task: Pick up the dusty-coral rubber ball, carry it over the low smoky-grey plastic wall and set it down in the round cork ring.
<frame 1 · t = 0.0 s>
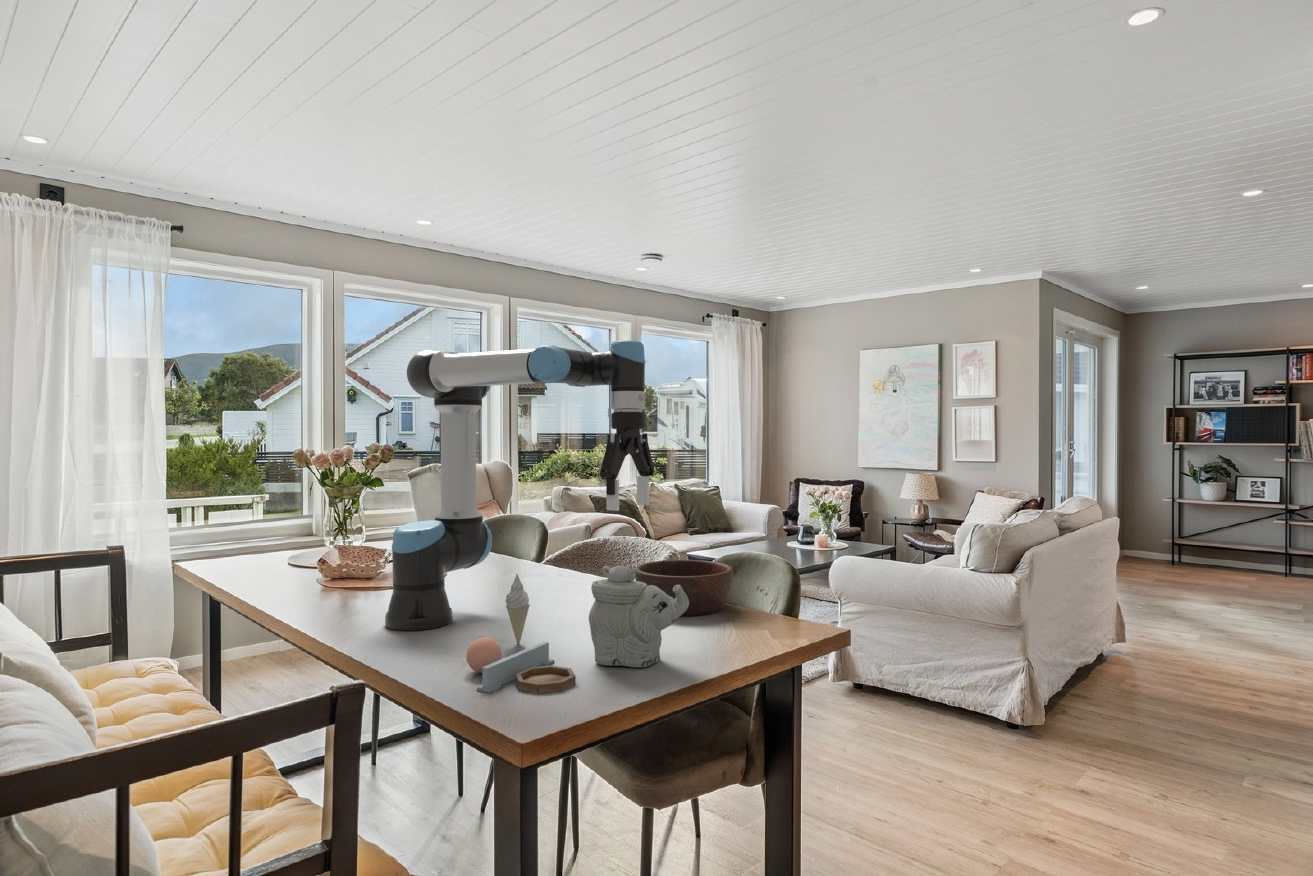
hand: (628, 507, 168), 28 cm above the table, fingers open, 13 cm apart
cork ring: (545, 683, 135), on the table
ice cream cone: (518, 645, 160), on the table
ball: (484, 672, 142), on the table
wooden bowl: (683, 608, 193), on the table
teapot: (638, 663, 147), on the table
low wall: (517, 675, 139), on the table
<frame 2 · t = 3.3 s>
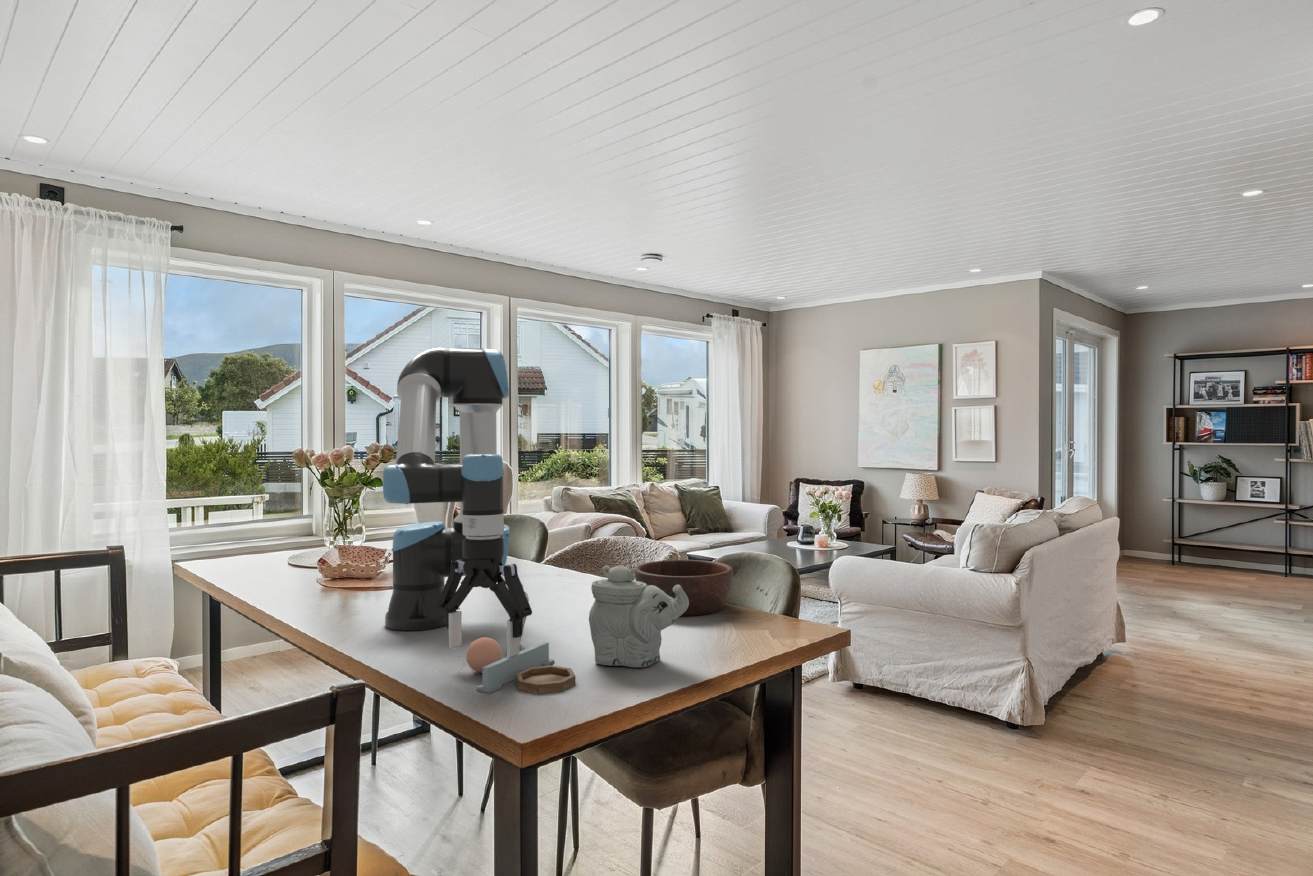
hand: (483, 651, 141), 4 cm above the table, fingers open, 13 cm apart
nothing on the table moved.
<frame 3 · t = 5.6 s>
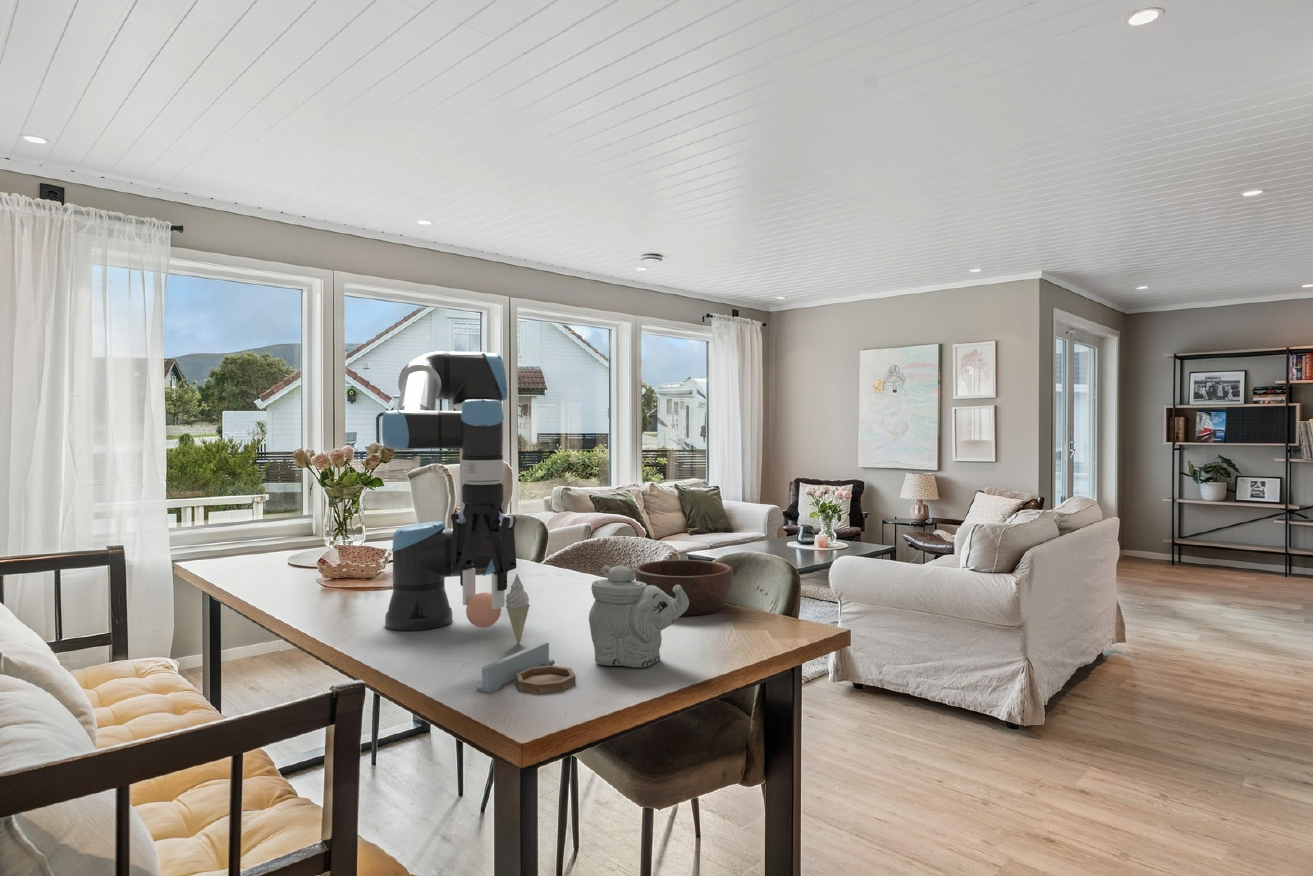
hand: (483, 605, 142), 12 cm above the table, fingers closed on ball, 6 cm apart
ball: (483, 626, 142), point 8 cm above the table, touching gripper
everything else where it was.
when the fingers open (3 cm above the table, at t = 9.5 s): ball stays where it is, resting on cork ring.
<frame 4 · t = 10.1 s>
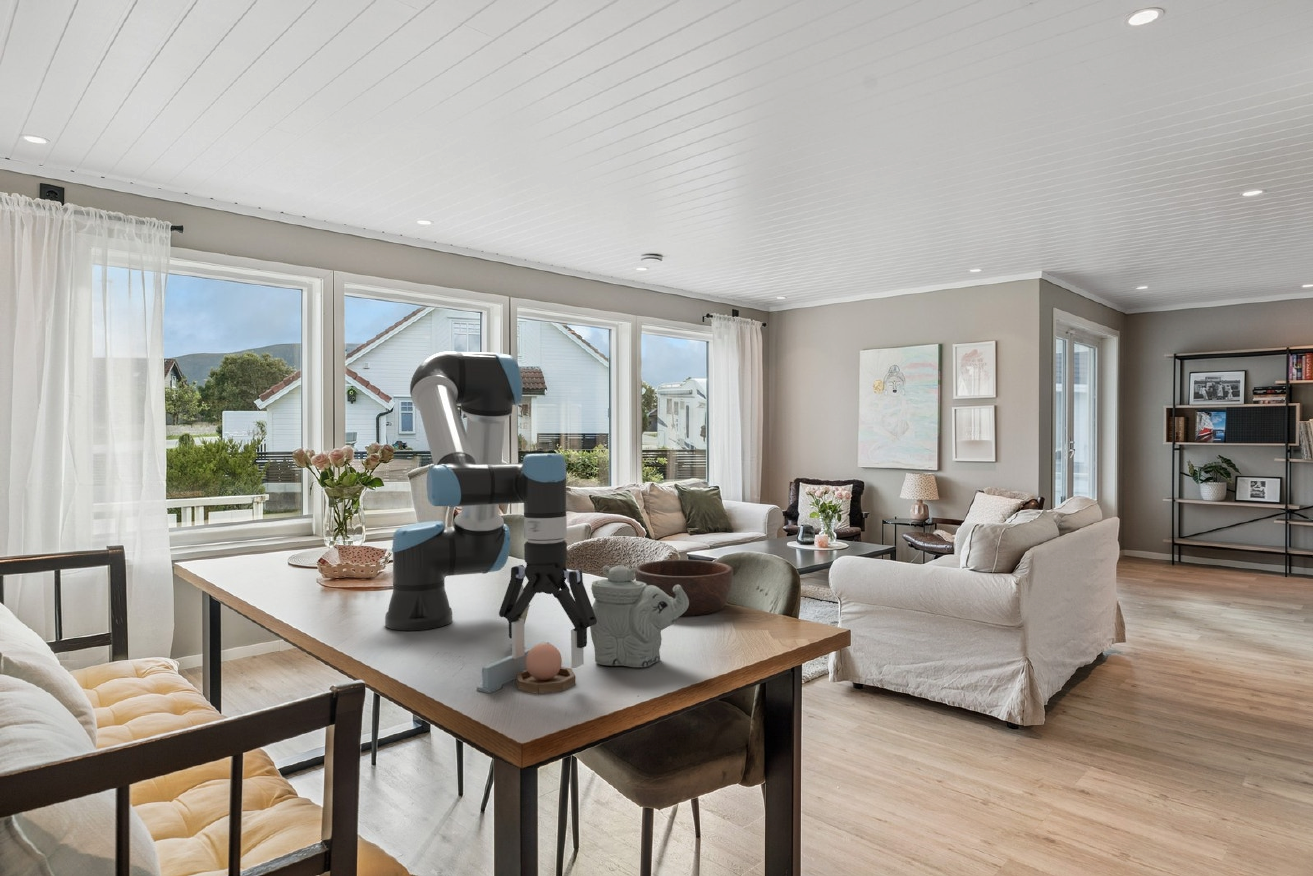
hand: (547, 661, 135), 4 cm above the table, fingers open, 12 cm apart
ball: (545, 680, 135), point 1 cm above the table, tilted 18°, touching cork ring
everything else where it was.
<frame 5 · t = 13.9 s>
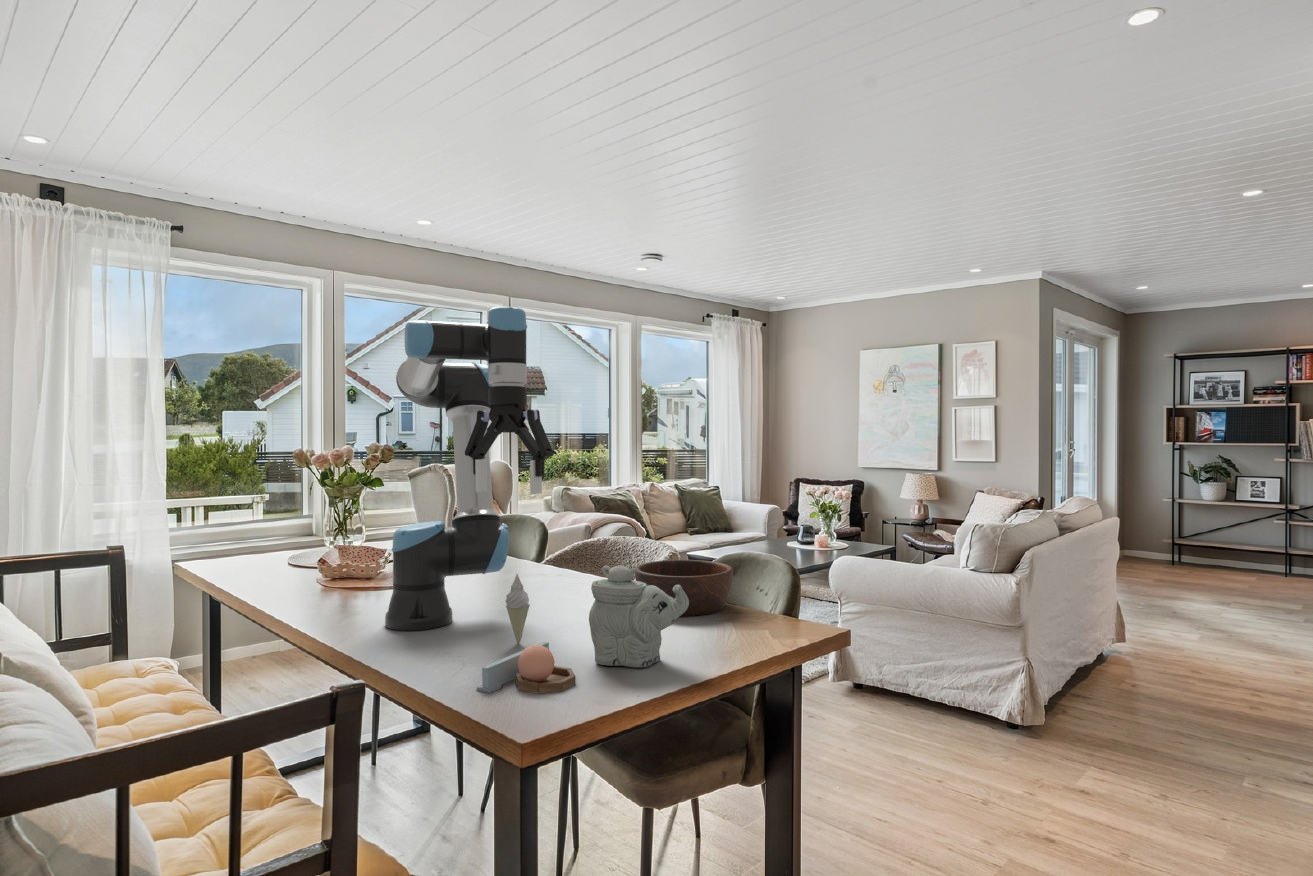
hand: (508, 492, 151), 33 cm above the table, fingers open, 13 cm apart
ball: (544, 679, 135), point 1 cm above the table, tilted 28°, touching cork ring
everything else where it was.
at the end: ball 0.3 cm from the cork ring (horizontally); ball point 0.8 cm above the table; the gripper is holding nothing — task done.
